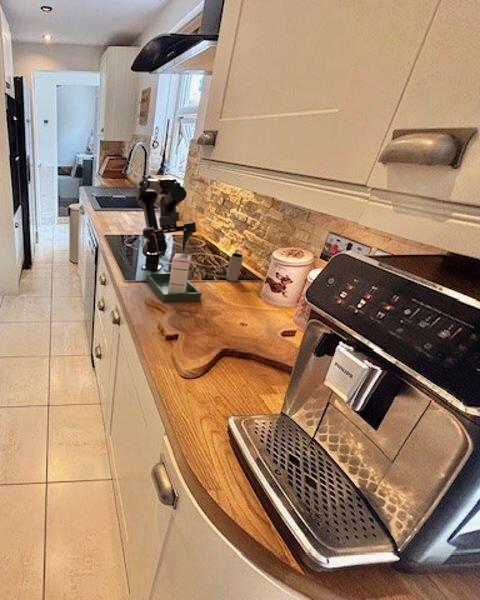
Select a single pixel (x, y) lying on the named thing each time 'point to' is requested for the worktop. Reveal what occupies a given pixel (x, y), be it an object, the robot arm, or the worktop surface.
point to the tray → (161, 286)
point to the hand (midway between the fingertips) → (170, 253)
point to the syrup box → (179, 273)
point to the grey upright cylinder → (234, 267)
